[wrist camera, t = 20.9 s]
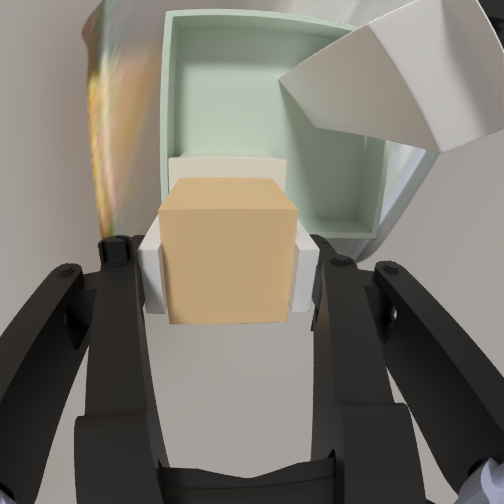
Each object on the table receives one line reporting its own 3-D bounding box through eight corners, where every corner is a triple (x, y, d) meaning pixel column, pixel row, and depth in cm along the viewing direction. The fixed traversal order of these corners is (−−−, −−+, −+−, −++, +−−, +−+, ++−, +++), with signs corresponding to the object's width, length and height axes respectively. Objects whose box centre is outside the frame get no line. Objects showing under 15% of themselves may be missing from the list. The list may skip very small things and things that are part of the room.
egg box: (272, 150, 28) (286, 160, 22) (269, 206, 30) (281, 231, 24) (180, 149, 27) (168, 158, 21) (181, 206, 29) (170, 231, 23)
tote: (373, 44, 24) (395, 37, 20) (358, 223, 32) (375, 239, 28) (174, 25, 22) (166, 11, 18) (171, 220, 30) (163, 237, 26)
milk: (314, 128, 27) (493, 177, 7) (276, 78, 25) (410, 1, 5) (360, 96, 26) (557, 107, 6) (325, 46, 24) (499, -28, 4)
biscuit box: (271, 178, 16) (298, 209, 11) (267, 261, 18) (286, 321, 13) (179, 178, 16) (158, 209, 10) (183, 261, 18) (170, 324, 12)
